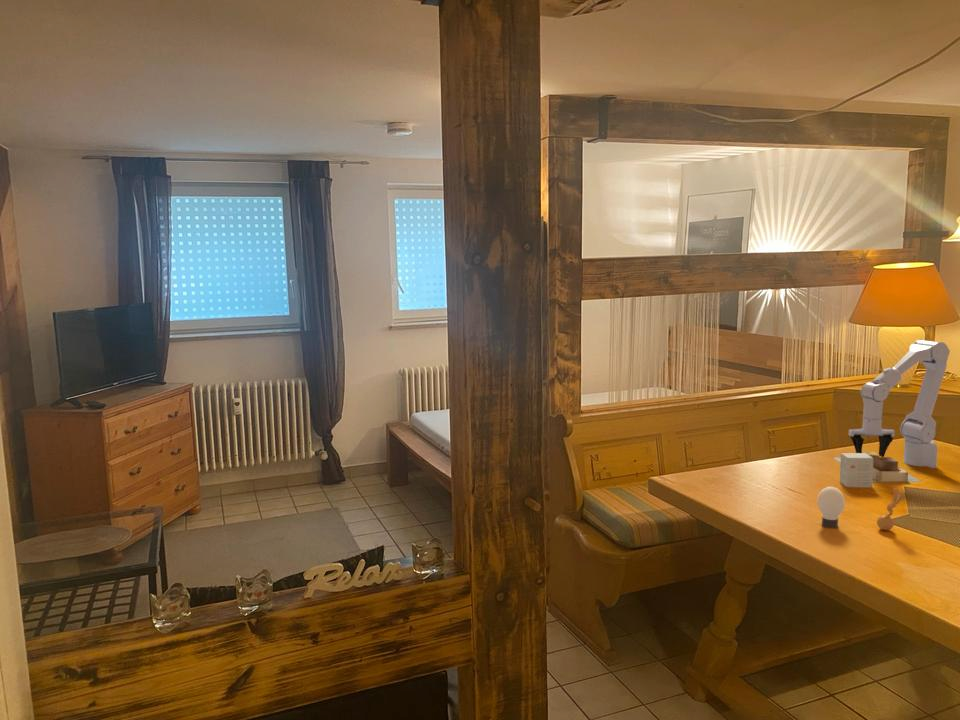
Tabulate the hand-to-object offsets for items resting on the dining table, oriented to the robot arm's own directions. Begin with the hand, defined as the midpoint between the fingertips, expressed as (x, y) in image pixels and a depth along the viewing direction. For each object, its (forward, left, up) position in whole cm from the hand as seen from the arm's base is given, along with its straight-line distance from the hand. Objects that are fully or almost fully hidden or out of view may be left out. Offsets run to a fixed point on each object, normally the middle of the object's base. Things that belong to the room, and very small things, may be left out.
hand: (870, 456), depth 243 cm
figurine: (+21, +55, -5) cm, 59 cm away
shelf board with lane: (-1, +1, -5) cm, 5 cm away
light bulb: (+35, +51, -5) cm, 62 cm away
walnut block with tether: (0, +5, -4) cm, 7 cm away
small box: (+13, +18, -5) cm, 23 cm away
